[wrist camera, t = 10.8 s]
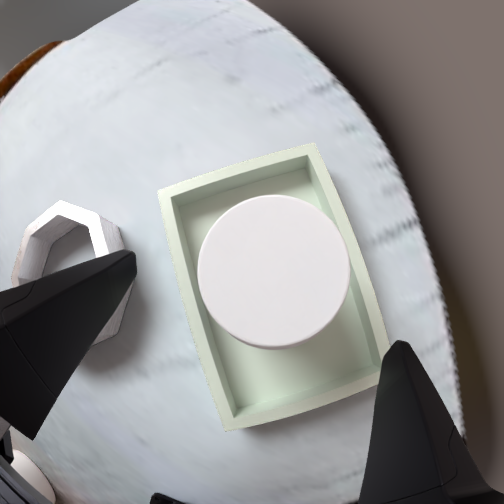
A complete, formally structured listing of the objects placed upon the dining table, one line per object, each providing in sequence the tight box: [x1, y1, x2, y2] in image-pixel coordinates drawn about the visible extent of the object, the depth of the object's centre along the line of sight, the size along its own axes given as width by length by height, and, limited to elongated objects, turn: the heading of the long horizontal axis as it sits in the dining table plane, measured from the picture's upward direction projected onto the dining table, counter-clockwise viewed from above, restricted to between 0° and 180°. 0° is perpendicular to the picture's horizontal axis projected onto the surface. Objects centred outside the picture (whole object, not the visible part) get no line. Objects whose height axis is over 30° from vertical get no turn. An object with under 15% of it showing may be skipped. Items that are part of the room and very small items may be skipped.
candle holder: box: [11, 450, 56, 504], centre depth 10 cm, size 10×10×12 cm
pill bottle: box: [197, 195, 351, 350], centre depth 13 cm, size 6×6×10 cm
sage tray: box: [157, 143, 390, 432], centre depth 17 cm, size 16×11×2 cm
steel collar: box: [11, 201, 135, 346], centre depth 18 cm, size 11×11×3 cm
